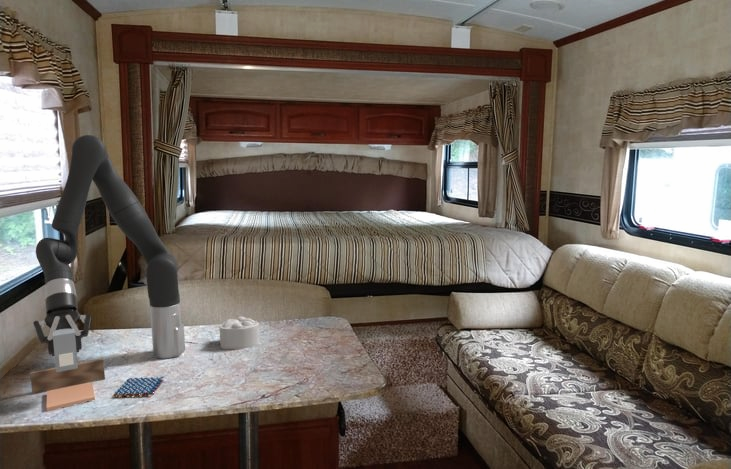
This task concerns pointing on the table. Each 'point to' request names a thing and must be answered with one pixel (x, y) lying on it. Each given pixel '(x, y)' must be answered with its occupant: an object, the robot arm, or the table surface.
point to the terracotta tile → (69, 396)
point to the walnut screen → (67, 376)
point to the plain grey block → (65, 349)
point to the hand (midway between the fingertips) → (65, 352)
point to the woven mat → (139, 387)
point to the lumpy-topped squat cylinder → (239, 333)
